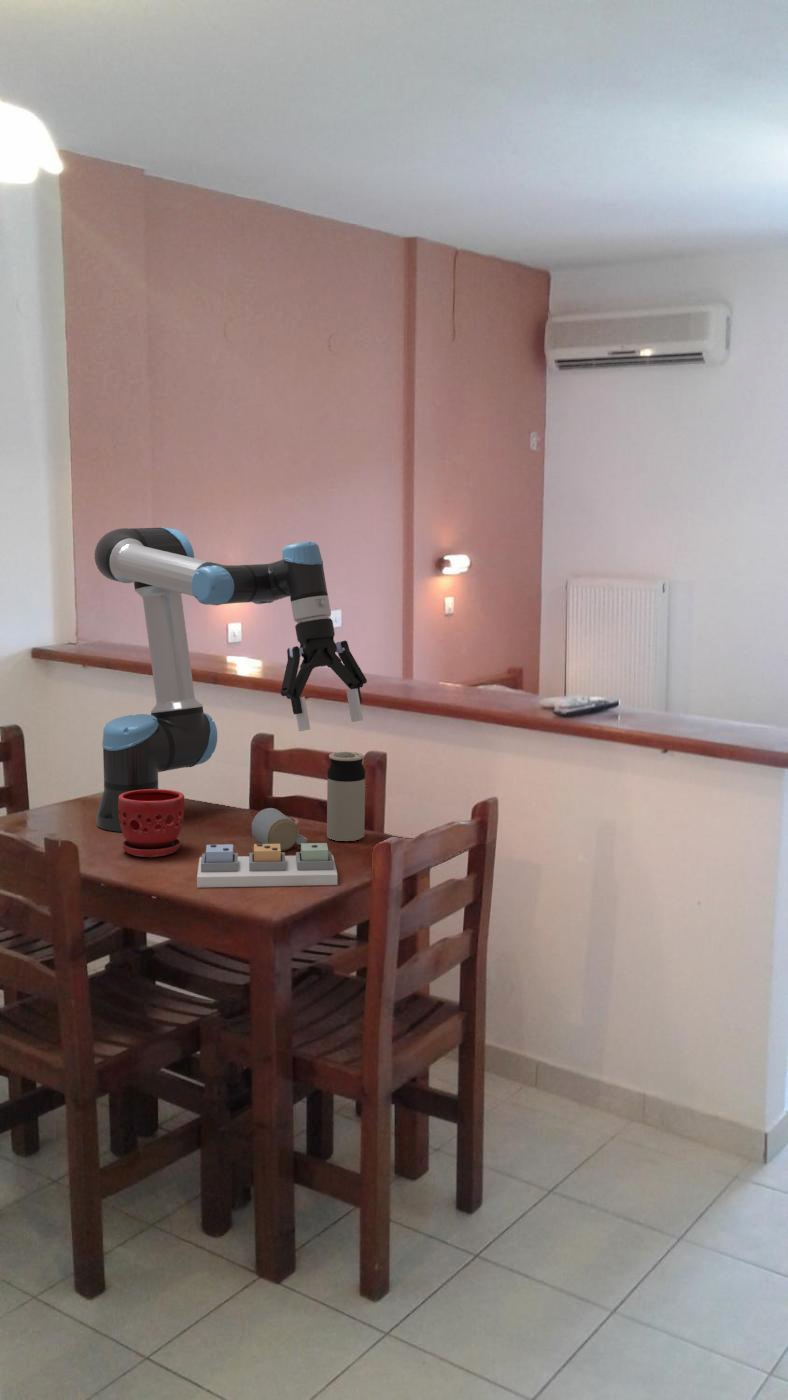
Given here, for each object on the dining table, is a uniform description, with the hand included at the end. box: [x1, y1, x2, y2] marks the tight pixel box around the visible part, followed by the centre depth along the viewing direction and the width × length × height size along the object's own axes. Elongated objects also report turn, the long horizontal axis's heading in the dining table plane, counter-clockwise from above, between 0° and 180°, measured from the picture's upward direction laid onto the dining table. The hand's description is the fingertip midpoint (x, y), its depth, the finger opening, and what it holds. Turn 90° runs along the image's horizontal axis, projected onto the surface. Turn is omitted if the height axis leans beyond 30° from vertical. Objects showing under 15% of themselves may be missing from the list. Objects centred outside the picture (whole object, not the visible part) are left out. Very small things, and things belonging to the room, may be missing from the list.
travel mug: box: [326, 751, 366, 842], centre depth 268 cm, size 8×8×18 cm
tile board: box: [196, 851, 338, 889], centre depth 242 cm, size 13×26×4 cm, turn 96°
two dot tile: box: [205, 843, 234, 862], centre depth 240 cm, size 5×5×2 cm
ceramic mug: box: [251, 807, 308, 852], centre depth 261 cm, size 11×8×8 cm
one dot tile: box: [300, 842, 329, 861], centre depth 242 cm, size 5×5×2 cm
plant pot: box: [118, 788, 185, 859], centre depth 256 cm, size 13×13×12 cm
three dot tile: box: [253, 843, 282, 862], centre depth 241 cm, size 5×5×2 cm
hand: (331, 725), depth 251 cm, fingers open, 13 cm apart
